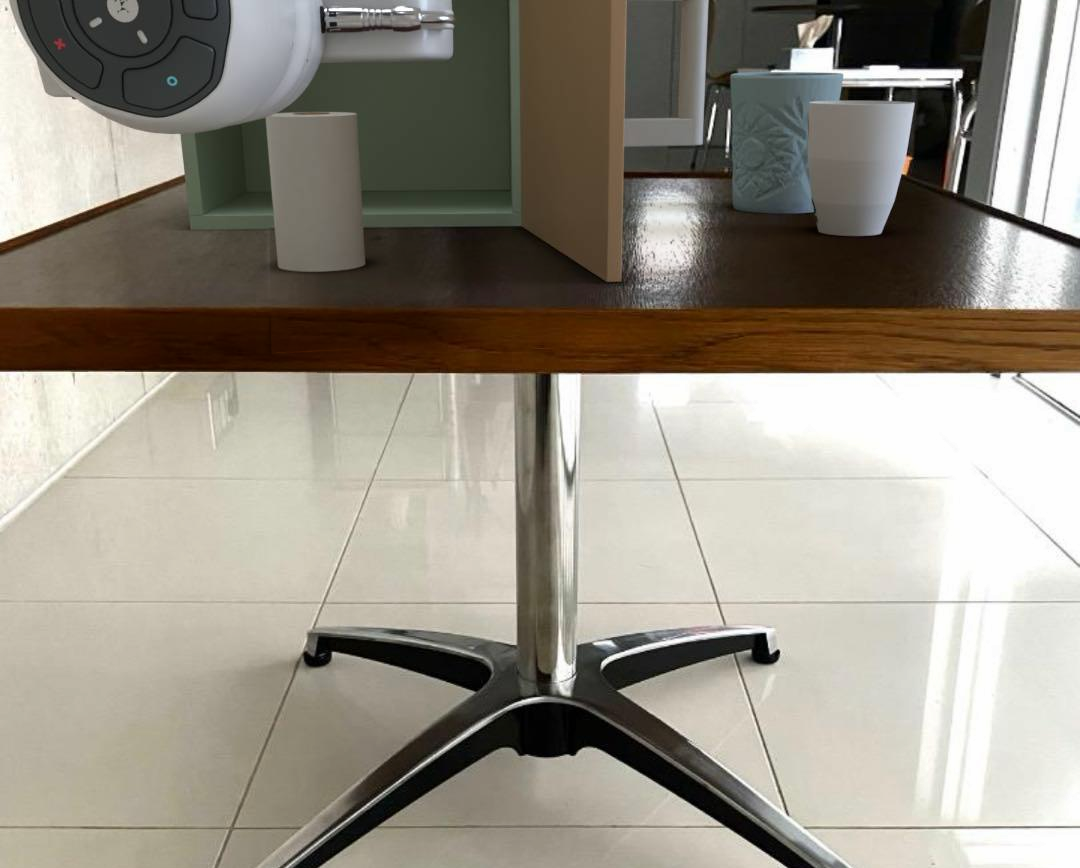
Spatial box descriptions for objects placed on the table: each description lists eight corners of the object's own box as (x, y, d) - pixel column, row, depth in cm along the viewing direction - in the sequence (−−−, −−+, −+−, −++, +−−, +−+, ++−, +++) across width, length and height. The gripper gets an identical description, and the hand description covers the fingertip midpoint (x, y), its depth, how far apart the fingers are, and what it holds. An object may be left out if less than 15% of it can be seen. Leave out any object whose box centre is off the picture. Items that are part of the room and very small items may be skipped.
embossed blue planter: (821, 202, 120) (831, 71, 116) (842, 214, 111) (855, 73, 106) (718, 202, 120) (724, 72, 116) (730, 215, 111) (738, 73, 106)
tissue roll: (303, 276, 81) (291, 115, 77) (263, 265, 85) (249, 113, 82) (381, 267, 84) (373, 113, 81) (338, 256, 89) (329, 110, 85)
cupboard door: (599, 224, 104) (603, -121, 95) (708, 278, 78) (730, -189, 69) (521, 226, 103) (517, -123, 93) (606, 282, 77) (613, -193, 67)
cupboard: (526, 227, 104) (523, -124, 94) (190, 230, 103) (152, -124, 93) (522, 201, 122) (519, -94, 113) (237, 203, 122) (210, -93, 112)
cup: (848, 223, 105) (858, 99, 101) (922, 233, 99) (937, 102, 95) (778, 230, 101) (787, 102, 97) (852, 241, 95) (864, 104, 91)
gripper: (451, -60, 54) (460, -37, 67) (-15, -56, 54) (85, -33, 67) (456, 92, 57) (464, 86, 69) (10, 97, 56) (101, 90, 69)
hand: (275, 28), depth 68 cm, fingers open, 8 cm apart
